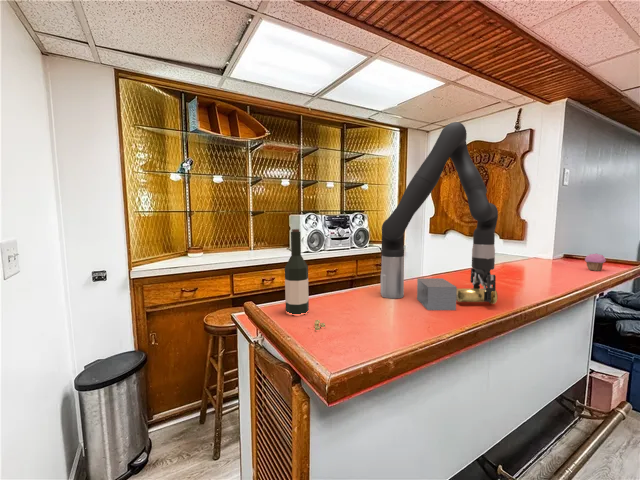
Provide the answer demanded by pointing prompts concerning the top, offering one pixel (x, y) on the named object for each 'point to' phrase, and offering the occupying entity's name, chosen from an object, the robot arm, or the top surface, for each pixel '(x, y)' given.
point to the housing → (436, 294)
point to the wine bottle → (296, 278)
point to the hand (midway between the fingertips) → (481, 298)
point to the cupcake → (595, 261)
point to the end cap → (474, 295)
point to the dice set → (318, 324)
